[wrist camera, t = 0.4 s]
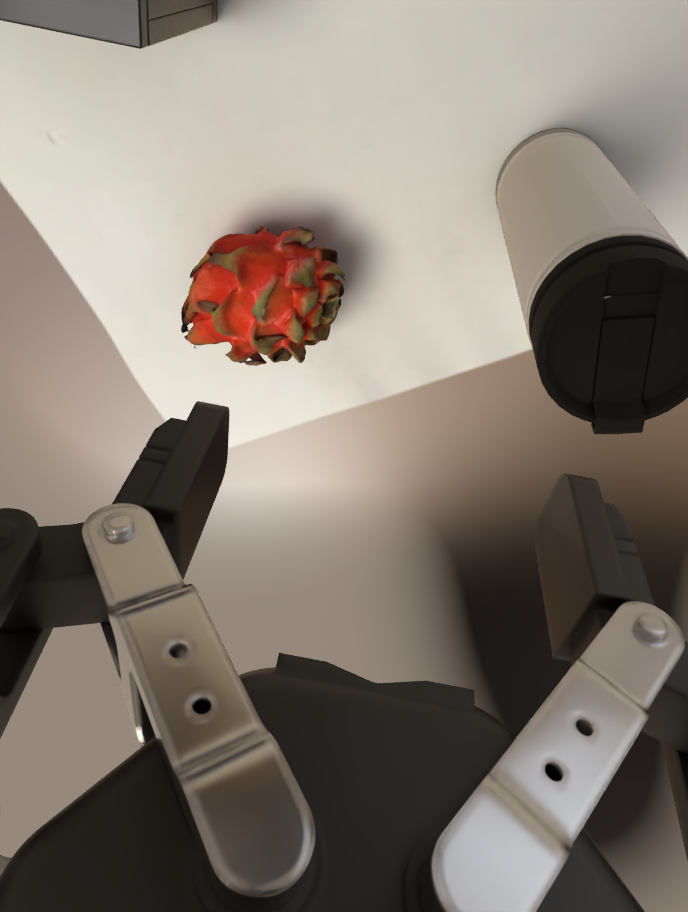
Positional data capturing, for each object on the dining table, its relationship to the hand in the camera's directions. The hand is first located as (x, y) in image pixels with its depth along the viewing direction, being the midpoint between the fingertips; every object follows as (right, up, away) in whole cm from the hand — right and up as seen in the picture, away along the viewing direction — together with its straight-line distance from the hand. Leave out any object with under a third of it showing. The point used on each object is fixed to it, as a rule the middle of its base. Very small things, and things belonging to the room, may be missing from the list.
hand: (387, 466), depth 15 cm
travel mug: (+11, +16, +22) cm, 30 cm away
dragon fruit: (-6, +12, +28) cm, 31 cm away
